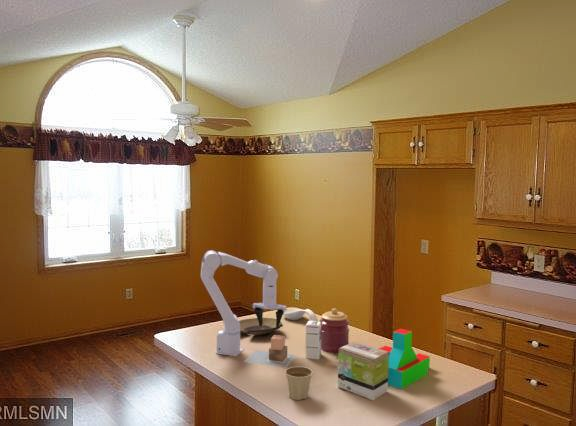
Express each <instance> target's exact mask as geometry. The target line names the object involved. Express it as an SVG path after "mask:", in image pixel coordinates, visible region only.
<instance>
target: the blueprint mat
mask: <svg viewBox="0 0 576 426" xmlns="http://www.w3.org/2000/svg"><path fill="white" fill-rule="evenodd" d="M296 356H297V354H290V353H287V358H286V359H285V360H284V361H283V362H280V361H272V360H269V351H266V350H257V349H255V350H254V351H253V352H252V353H251V354H250V355H249V356H248V357H247V358H246V359H245V360H244V361H243V363H250V364H257V365H264V366H271V367H272V366H273V367H280V368H281V367H282V368H287V367H288V366H289V365H290V364H291V362H292V361H294V359H295V358H296Z"/></svg>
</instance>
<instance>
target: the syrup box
mask: <svg viewBox="0 0 576 426" xmlns="http://www.w3.org/2000/svg"><path fill="white" fill-rule="evenodd" d="M321 357H322V350H321V322H320V320H318V321H311V320H308V321H307V322H306V324H305V359H312V360H319V359H321Z"/></svg>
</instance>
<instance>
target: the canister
mask: <svg viewBox="0 0 576 426" xmlns="http://www.w3.org/2000/svg"><path fill="white" fill-rule="evenodd" d="M319 321H320V322H321V351H324V352H327V353H332V354H334V353H335V354H339V348H341V347H343V346H345V345H347V344H350V342H349V339H350V337H349V336H350V335H349V334H350V333H349V332H350V328H349V324H350V320H349V319H348V315H347V314H345V313H344V312H343V311H338V308H335V307H334V308H331V310H329V311H326V312H324V313H322V315H321V318H320V319H319Z"/></svg>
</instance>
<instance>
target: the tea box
mask: <svg viewBox="0 0 576 426" xmlns="http://www.w3.org/2000/svg"><path fill="white" fill-rule="evenodd" d="M388 365H389V352H388V351H384V350H381V349H379V347H377V348H376V347H374V346H370V345H367V344H364V343H361V342H357V341H351V342H349V344H347V345H345V346H343V347H341V348H339V353H338V362H337V387H338V388H340V389H344V390H346V391H348V392H351V393H354V394H356V395H358V396H361V397H364V398H366V399H368V400H371V401H374V400H375V399H378V398H379V397H381V396H382V395H383V394H385V393H387V392H388V386H389V385H388Z"/></svg>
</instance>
